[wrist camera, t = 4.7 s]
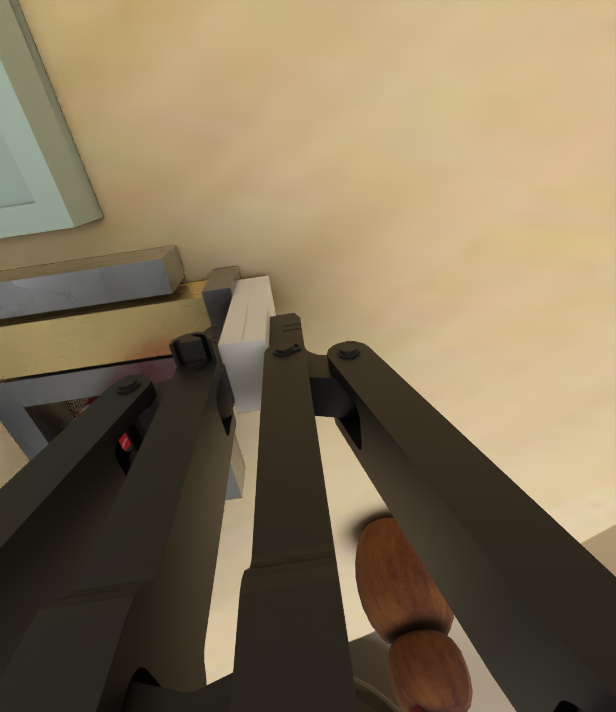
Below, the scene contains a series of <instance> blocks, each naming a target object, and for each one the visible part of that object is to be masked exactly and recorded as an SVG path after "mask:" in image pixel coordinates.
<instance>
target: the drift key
mask: <svg viewBox="0 0 616 712" xmlns="http://www.w3.org/2000/svg"><path fill="white" fill-rule="evenodd" d="M238 280H241V278H240V273H239V269H238V266H235V267H228V268H222V269H215V270H213V272H212V273H211V275H210V277H209V279H208V280H203V281H197V282H190V283H183V284H179V285H178V287H177V288H176V289H175V291H174V292H173V293H171V294H164V295H157V296H151V297H144V298H137V299H131V300H124V301H117V302H110V303H104V304H97V305H90V306H84V307H77V308H70V309H63V310H57V311H50V312H43V313H37V314H30V315H23V316H16V317H10V318H3V319H0V380H1V379H8V378H15V377H22V376H28V375H35V374H42V373H48V372H55V371H62V370H68V369H75V368H82V367H88V366H95V365H102V364H109V363H115V362H122V361H129V360H135V359H142V358H149V357H155V356H162V355H169V354H172V353H171V350H170V348H169V344H170V342H171V341H172V340H174V339H176V338H177V337H180V336H182V335H185V334H188V333H193V332H204V331H205V330H206V329H207V328H208V327H211V326H217V325H224V323H225V320H226V317H227V313H228V310H229V307H230V303H231V300H232V297H233V293H234V290H235V287H236V284H237V281H238Z"/></svg>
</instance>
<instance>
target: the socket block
mask: <svg viewBox="0 0 616 712" xmlns="http://www.w3.org/2000/svg"><path fill="white" fill-rule="evenodd" d="M185 276H186V275H185V272H184V269H183V266H182V263H181V259H180V256H179V253H178V250H177V247H176V245H174V246H167V247H160V248H153V249H147V250H140V251H133V252H126V253H120V254H113V255H106V256H99V257H93V258H86V259H79V260H72V261H66V262H59V263H52V264H45V265H39V266H32V267H25V268H18V269H12V270H5V271H0V319H3V318H10V317H16V316H23V315H30V314H37V313H43V312H50V311H57V310H63V309H70V308H77V307H84V306H90V305H97V304H104V303H110V302H117V301H124V300H131V299H137V298H144V297H151V296H157V295H164V294H171V293H173V292H174V291H175V289H176V288H177V287H178V285H179V284H180V283H181V281H182V280H183V279H184V277H185ZM176 368H177V366H176V364H175V361H174V358H173V356H172V354H169V355H162V356H155V357H149V358H142V359H135V360H129V361H122V362H115V363H109V364H102V365H95V366H88V367H82V368H75V369H68V370H62V371H55V372H48V373H42V374H35V375H28V376H22V377H15V378H8V379H1V380H0V421H1V422H2V424H3V425H4V426H5V428H6V429H7V430H8V432H9V433H10V434H11V436H12V437H13V438H14V440H15V441H16V442H17V444H18V445H19V446H20V448H21V449H22V450H23V452H24V453H25V454H26V456H27V457H28V458H29V460H30V461H31V460H32V459H33V458H34V457H35V456H36V455H37V454H38V453H39V452H40V451H41V450H43V449H44V448H45V447H46V446H47V445H48V444H49V443H50V442H51V441H52V440H53V439H54V438H55V437H56V436H57V435H59V434H60V433H61V432H62V431H63V430H64V429H65V428H66V427H67V426H68V425H69V424H70V423H71V422H72V421H73V420H74V416H73V414H72V413H71V411H70V409H69V408H68V406H67V404H66V403H65V401H68V400H74V399H81V398H88V397H94V396H100V395H101V394H102V393H103V392H104V391H105V390H107V389H108V388H109V387H110V386H111V385H112V384H114V383H115V382H117V381H119V380H121V379H122V378H123V377H126V376H129V375H137V374H144V375H148V376H149V377H151V380H152V382H153V384H155V383H158V382H162V381H165V380H168V379H170V378H172V376H173V374H174V372H175V370H176ZM244 474H245V465H244V461H243V458H242V455H241V452H240V449H239V445H238V442H237V439H236V436H235V434H234V441H233V448H232V455H231V462H230V469H229V476H228V484H227V491H226V498H225V500H230V499H236V498H242V494H243V484H244Z"/></svg>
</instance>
